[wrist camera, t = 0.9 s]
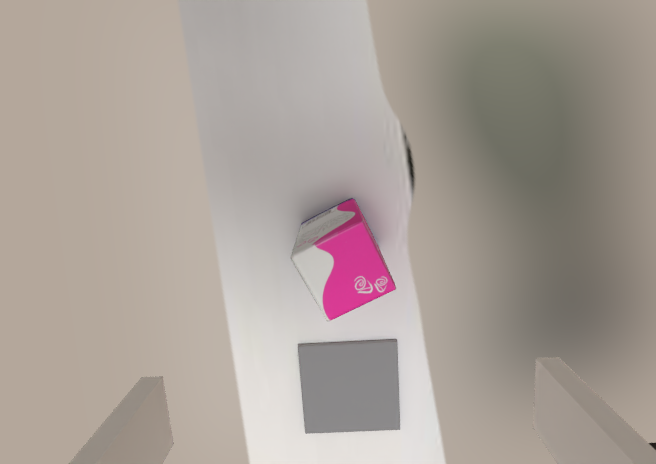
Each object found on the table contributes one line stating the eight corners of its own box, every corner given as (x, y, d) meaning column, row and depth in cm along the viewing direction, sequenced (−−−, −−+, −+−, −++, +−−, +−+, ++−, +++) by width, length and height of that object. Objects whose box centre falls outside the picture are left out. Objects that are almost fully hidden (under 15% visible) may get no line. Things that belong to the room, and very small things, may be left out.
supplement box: (328, 275, 41) (324, 325, 30) (300, 223, 40) (285, 253, 29) (381, 250, 40) (398, 290, 29) (354, 195, 39) (360, 216, 28)
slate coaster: (298, 344, 42) (298, 346, 42) (396, 339, 42) (397, 341, 41) (305, 429, 44) (305, 433, 44) (399, 425, 44) (400, 429, 43)
